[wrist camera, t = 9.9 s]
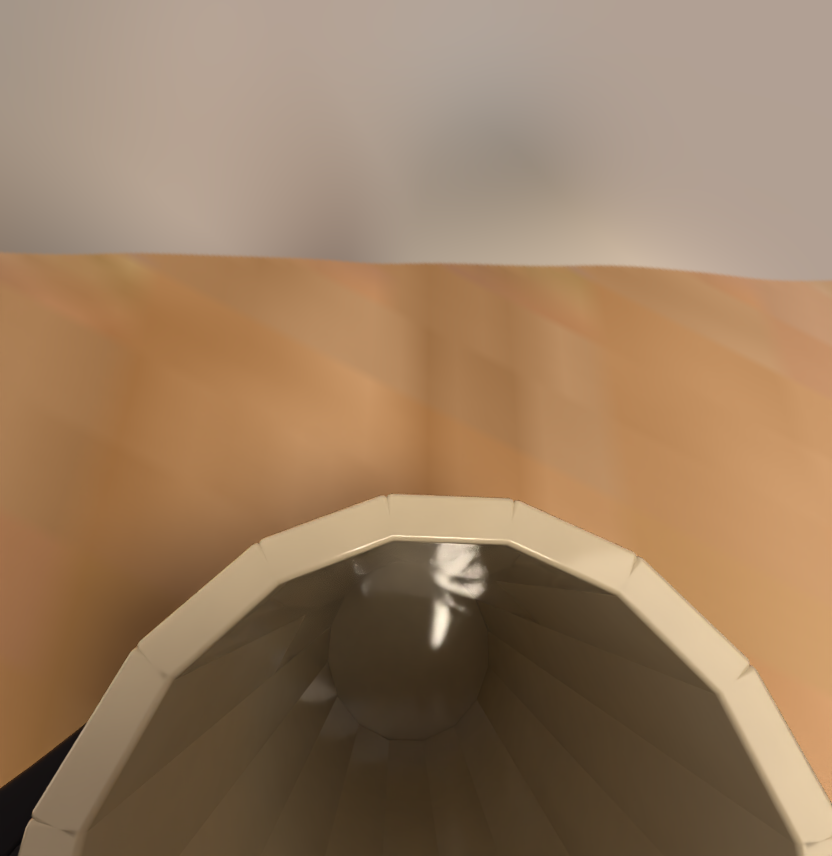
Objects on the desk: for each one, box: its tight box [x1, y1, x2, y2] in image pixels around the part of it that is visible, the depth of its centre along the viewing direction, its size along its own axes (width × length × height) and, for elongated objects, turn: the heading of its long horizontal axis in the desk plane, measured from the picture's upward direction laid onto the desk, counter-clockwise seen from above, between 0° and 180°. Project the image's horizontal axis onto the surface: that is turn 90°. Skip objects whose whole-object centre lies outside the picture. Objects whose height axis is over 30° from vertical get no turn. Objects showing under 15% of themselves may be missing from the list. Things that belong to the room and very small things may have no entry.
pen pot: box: [18, 493, 832, 856], centre depth 9 cm, size 6×6×12 cm
